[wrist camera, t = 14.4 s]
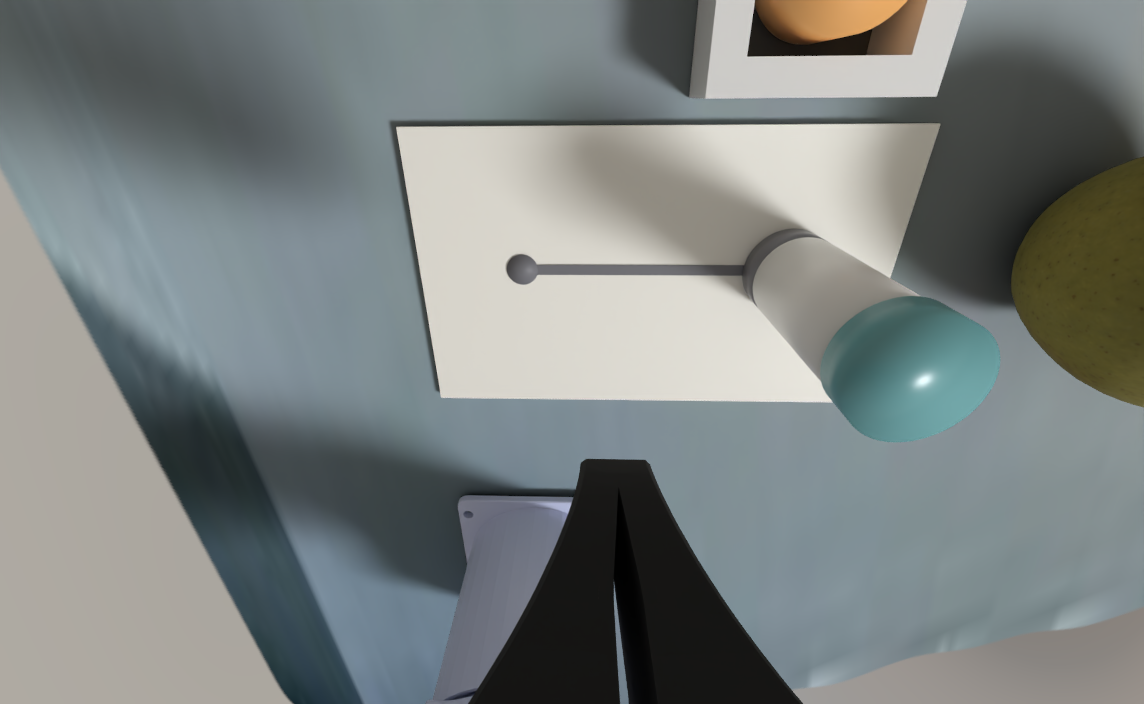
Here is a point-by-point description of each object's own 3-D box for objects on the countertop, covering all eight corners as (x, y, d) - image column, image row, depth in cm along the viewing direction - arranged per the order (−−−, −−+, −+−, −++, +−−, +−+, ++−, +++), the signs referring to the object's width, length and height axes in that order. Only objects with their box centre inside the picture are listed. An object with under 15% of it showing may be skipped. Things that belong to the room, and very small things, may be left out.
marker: (819, 311, 19) (965, 442, 12) (733, 312, 19) (827, 442, 12) (842, 225, 17) (1027, 316, 10) (747, 225, 17) (867, 317, 10)
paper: (846, 398, 21) (849, 403, 21) (443, 394, 22) (440, 398, 21) (935, 123, 16) (941, 123, 15) (399, 126, 16) (395, 126, 16)
